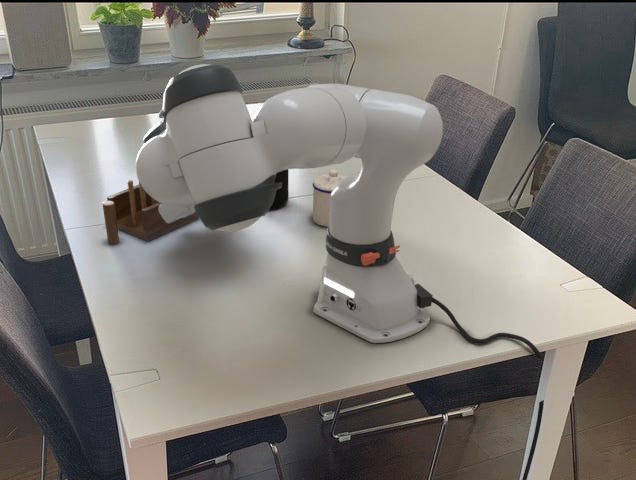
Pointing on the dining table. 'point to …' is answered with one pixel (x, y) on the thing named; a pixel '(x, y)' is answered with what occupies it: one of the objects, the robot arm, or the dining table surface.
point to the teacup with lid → (324, 196)
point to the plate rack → (142, 214)
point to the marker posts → (110, 222)
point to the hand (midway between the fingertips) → (185, 213)
